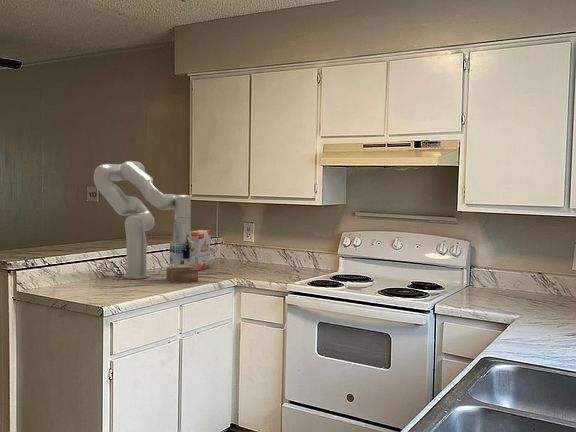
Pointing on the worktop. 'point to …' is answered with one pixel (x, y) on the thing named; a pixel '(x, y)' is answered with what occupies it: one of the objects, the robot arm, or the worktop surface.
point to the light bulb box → (181, 254)
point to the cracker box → (201, 249)
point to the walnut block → (182, 274)
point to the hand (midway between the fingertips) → (182, 257)
